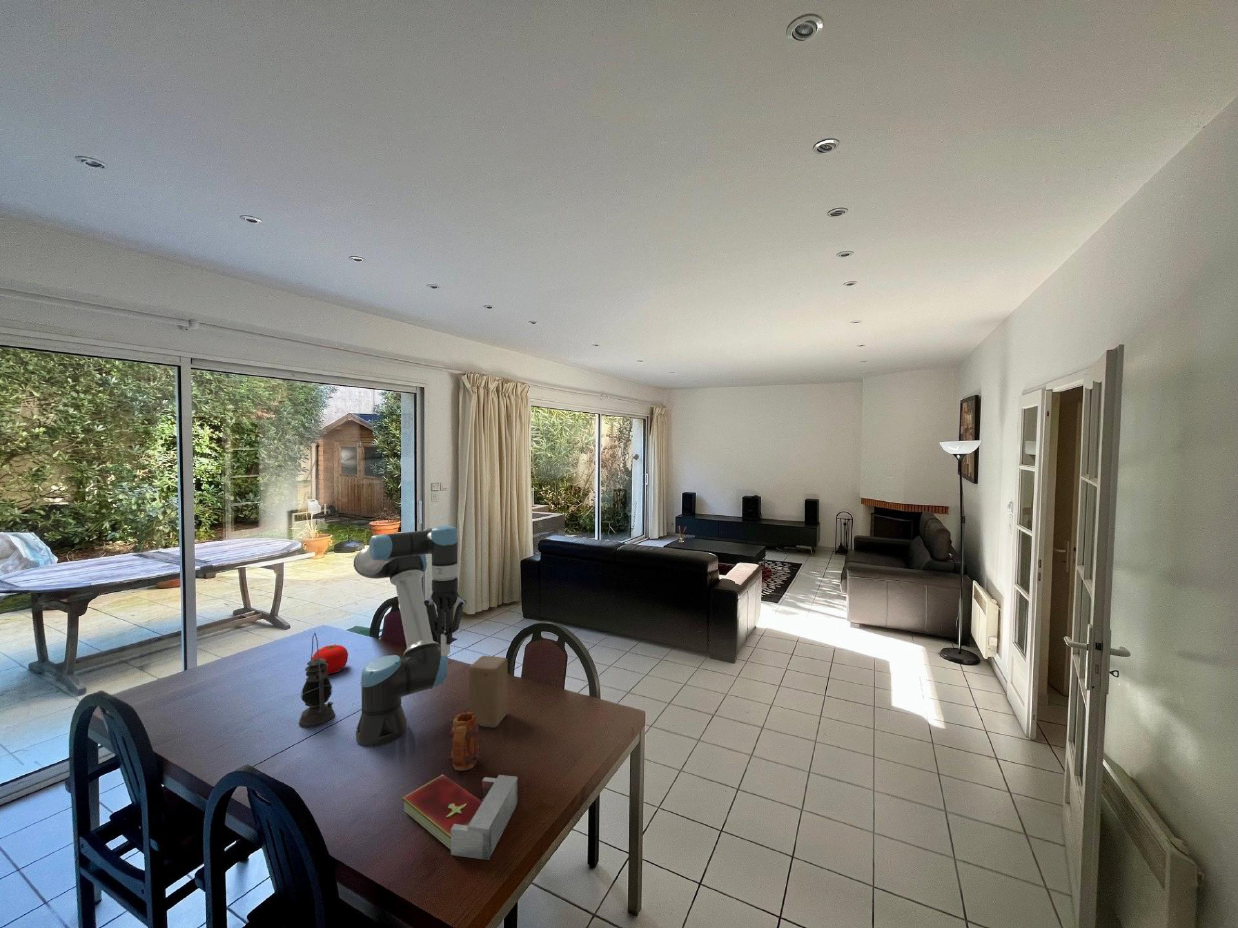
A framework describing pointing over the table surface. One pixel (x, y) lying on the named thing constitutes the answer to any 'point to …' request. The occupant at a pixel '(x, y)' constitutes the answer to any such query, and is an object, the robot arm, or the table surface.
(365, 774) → the table surface
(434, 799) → the hardcover book
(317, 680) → the lantern
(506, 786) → the end cap
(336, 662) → the tomato
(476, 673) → the wooden block
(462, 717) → the mug
